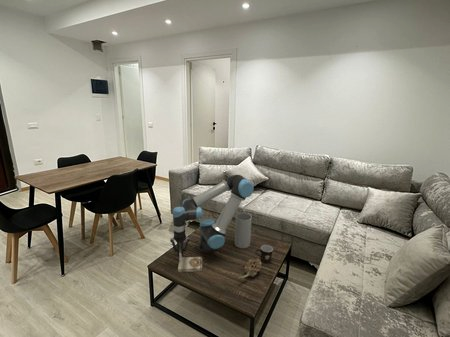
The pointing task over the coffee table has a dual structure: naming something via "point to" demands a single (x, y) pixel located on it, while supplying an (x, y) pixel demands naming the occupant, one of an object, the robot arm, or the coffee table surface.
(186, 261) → the block
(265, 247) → the coffee mug
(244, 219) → the cylinder vase
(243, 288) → the coffee table surface
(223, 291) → the coffee table surface
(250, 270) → the dried lotus pod
